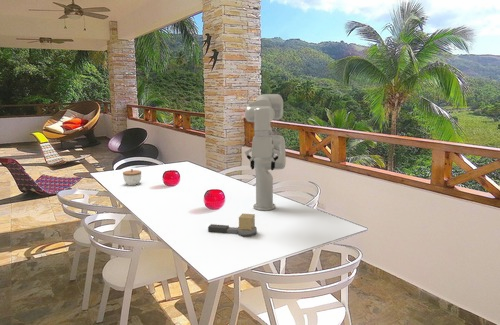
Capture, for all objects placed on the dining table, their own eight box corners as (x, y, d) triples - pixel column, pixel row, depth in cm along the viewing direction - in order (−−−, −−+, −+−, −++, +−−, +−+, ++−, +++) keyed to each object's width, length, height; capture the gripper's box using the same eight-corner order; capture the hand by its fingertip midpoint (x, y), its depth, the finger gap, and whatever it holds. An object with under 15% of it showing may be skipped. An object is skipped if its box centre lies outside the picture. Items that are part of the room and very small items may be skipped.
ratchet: (212, 227, 195) (212, 214, 194) (258, 230, 190) (258, 217, 188) (206, 233, 187) (205, 220, 186) (254, 237, 181) (253, 223, 180)
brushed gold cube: (242, 225, 190) (242, 213, 189) (254, 226, 188) (254, 214, 187) (239, 229, 184) (238, 217, 183) (251, 230, 183) (251, 218, 181)
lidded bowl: (120, 185, 286) (118, 169, 284) (134, 181, 296) (133, 167, 294) (131, 187, 279) (130, 171, 277) (145, 183, 289) (144, 168, 287)
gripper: (281, 133, 190) (281, 168, 193) (246, 132, 194) (247, 167, 197) (279, 135, 183) (279, 171, 186) (242, 134, 187) (243, 170, 190)
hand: (262, 169), depth 192 cm, fingers open, 9 cm apart
